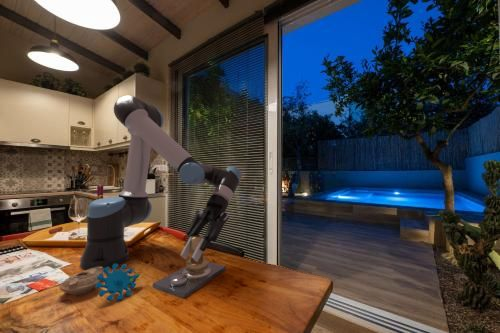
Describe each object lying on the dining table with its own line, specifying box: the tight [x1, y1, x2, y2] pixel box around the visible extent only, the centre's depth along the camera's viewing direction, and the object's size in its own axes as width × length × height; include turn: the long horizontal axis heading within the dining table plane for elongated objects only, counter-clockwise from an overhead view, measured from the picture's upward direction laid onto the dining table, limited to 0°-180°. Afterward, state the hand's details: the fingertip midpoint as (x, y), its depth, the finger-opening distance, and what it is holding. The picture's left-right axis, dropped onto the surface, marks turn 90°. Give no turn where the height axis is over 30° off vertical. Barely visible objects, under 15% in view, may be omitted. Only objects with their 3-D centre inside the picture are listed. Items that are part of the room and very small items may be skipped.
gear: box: [94, 263, 141, 302], centre depth 60 cm, size 11×6×10 cm
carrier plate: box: [152, 261, 227, 299], centre depth 69 cm, size 12×20×2 cm, turn 153°
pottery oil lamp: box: [59, 267, 105, 296], centre depth 63 cm, size 9×12×7 cm
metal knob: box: [185, 234, 209, 272], centre depth 71 cm, size 7×7×10 cm
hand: (188, 258), depth 68 cm, fingers closed on metal knob, 4 cm apart
